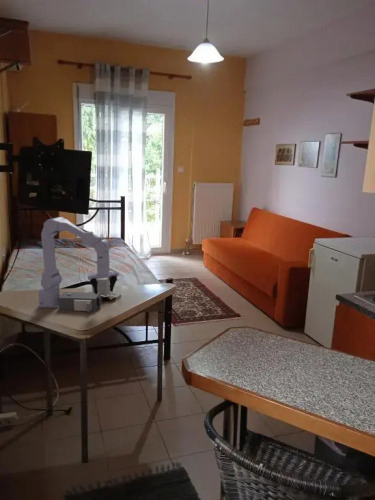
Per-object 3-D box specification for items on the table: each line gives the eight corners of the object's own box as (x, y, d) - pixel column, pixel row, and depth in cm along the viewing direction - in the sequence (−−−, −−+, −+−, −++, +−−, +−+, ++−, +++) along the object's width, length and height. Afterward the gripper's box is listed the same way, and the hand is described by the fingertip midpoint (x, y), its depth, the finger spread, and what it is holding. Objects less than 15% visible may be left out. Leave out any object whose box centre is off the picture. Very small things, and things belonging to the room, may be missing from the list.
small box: (109, 295, 218) (109, 276, 216) (106, 298, 213) (106, 279, 211) (95, 294, 219) (95, 275, 217) (92, 297, 213) (91, 278, 211)
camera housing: (58, 309, 195) (58, 296, 194) (64, 303, 204) (63, 290, 203) (98, 310, 195) (98, 297, 194) (102, 304, 204) (102, 291, 203)
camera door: (72, 312, 191) (72, 302, 189) (75, 309, 195) (74, 299, 194) (89, 313, 191) (89, 303, 189) (91, 309, 195) (91, 300, 194)
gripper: (90, 268, 184) (91, 297, 187) (120, 265, 191) (121, 292, 194) (86, 265, 190) (86, 292, 193) (115, 262, 197) (115, 288, 200)
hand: (103, 292), depth 194 cm, fingers open, 7 cm apart
